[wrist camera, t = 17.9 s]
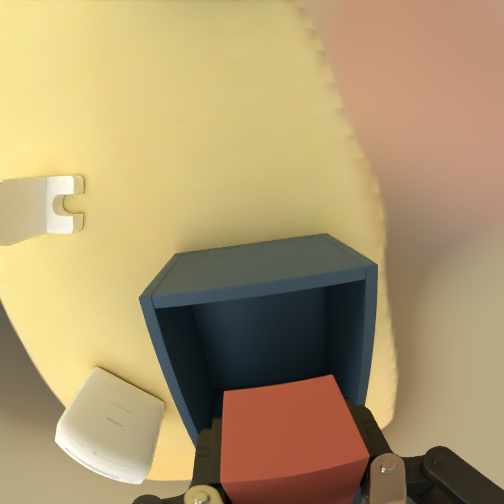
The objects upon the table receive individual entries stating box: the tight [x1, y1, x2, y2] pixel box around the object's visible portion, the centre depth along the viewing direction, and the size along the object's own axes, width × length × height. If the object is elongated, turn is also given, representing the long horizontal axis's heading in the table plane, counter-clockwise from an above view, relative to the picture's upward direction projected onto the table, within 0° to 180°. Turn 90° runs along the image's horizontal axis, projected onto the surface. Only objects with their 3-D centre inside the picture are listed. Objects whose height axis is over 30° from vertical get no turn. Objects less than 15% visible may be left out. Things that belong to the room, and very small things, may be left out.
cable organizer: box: [0, 176, 84, 246], centre depth 17 cm, size 5×10×10 cm, turn 84°
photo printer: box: [55, 367, 165, 484], centre depth 22 cm, size 10×4×12 cm, turn 59°
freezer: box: [139, 234, 378, 448], centre depth 21 cm, size 16×14×10 cm
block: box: [220, 375, 370, 504], centre depth 9 cm, size 4×4×4 cm
